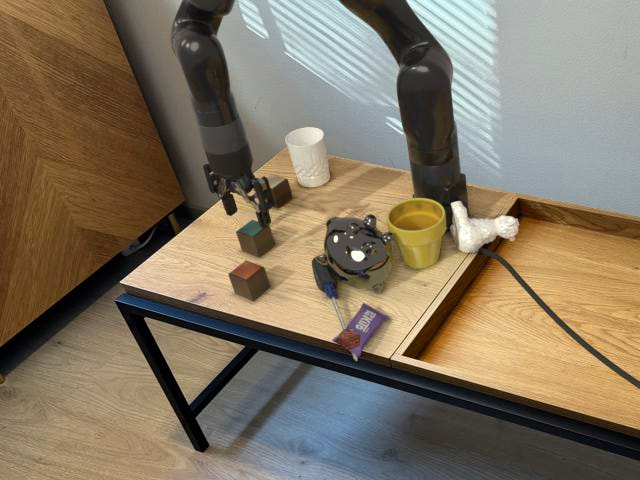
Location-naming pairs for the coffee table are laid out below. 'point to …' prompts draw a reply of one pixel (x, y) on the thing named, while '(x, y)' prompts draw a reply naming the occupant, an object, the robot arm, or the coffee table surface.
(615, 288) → the coffee table surface
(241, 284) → the red-topped brown block
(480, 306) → the coffee table surface
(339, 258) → the piggy bank
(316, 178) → the white cup
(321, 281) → the screwdriver
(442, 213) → the flower pot
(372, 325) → the snack package
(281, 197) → the brown block
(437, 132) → the robot arm
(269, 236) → the teal topped brown block
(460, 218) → the sitting furry creature
